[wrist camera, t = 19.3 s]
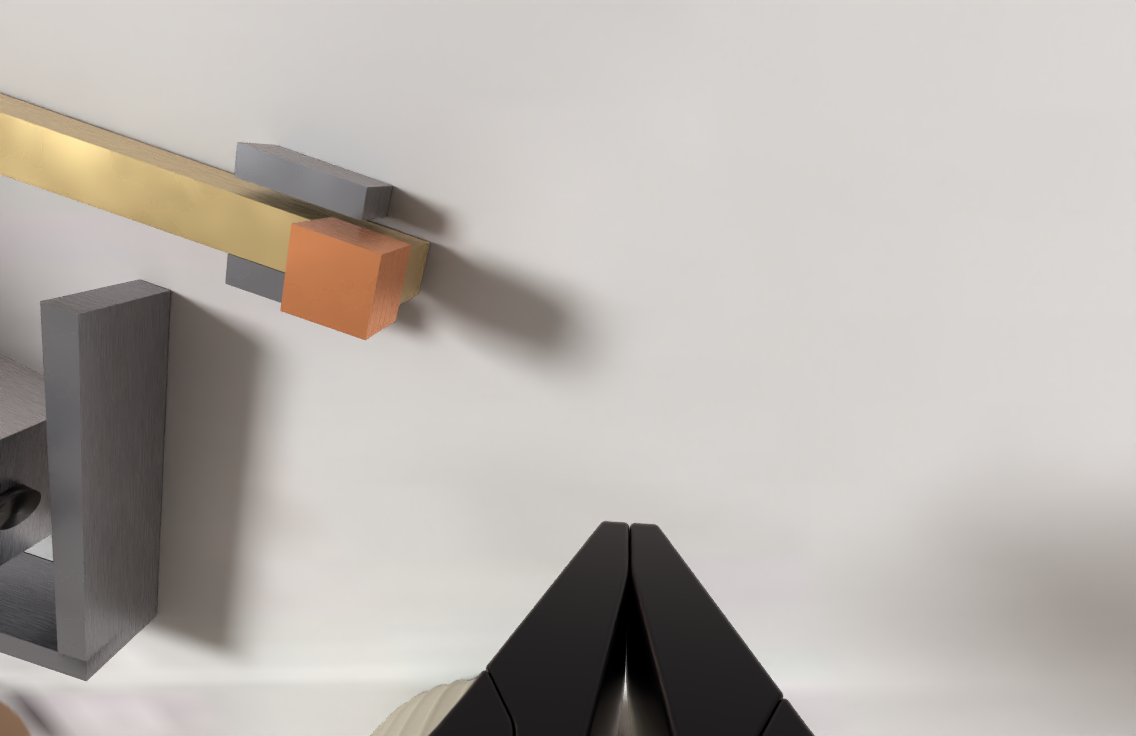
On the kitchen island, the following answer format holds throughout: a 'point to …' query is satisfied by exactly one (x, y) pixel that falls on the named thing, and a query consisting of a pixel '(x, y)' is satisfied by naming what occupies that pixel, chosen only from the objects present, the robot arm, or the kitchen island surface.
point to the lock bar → (222, 216)
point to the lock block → (22, 460)
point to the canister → (423, 711)
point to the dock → (126, 439)
